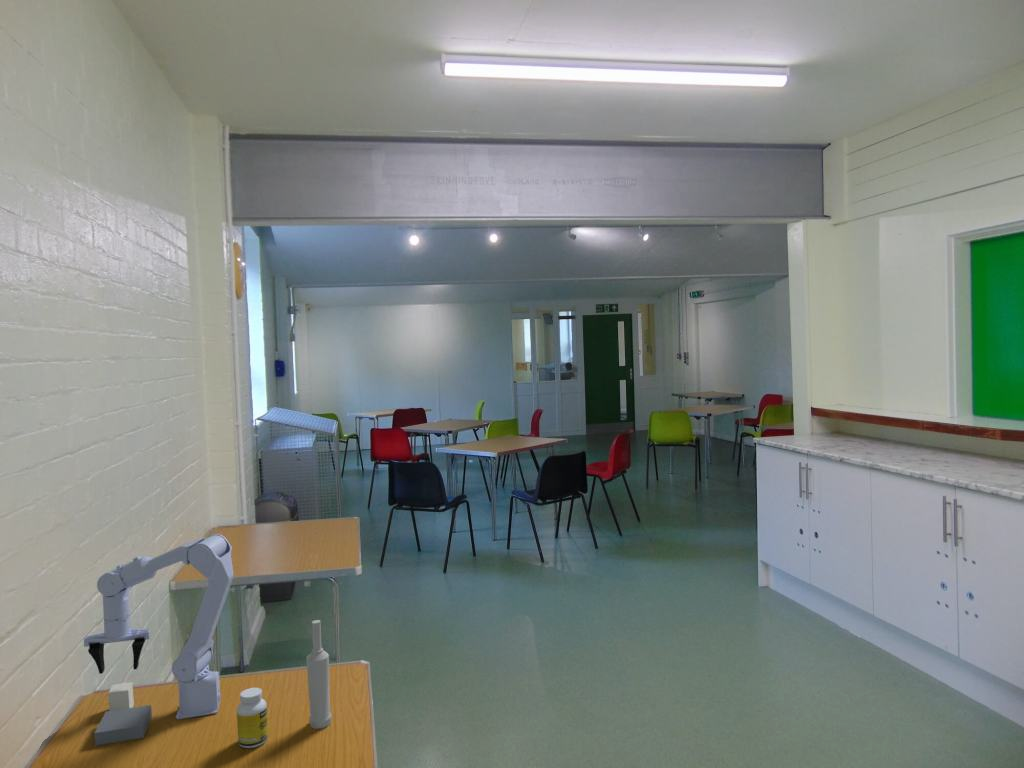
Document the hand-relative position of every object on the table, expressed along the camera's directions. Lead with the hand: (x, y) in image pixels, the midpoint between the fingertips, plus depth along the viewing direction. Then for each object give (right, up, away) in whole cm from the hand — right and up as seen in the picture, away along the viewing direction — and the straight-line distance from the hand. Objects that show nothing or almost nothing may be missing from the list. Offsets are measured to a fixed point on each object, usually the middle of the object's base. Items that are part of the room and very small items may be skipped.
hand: (119, 669), depth 179 cm
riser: (+6, -11, -9) cm, 15 cm away
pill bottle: (+39, -11, -15) cm, 43 cm away
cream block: (0, -11, +1) cm, 11 cm away
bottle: (+53, -10, -8) cm, 54 cm away
